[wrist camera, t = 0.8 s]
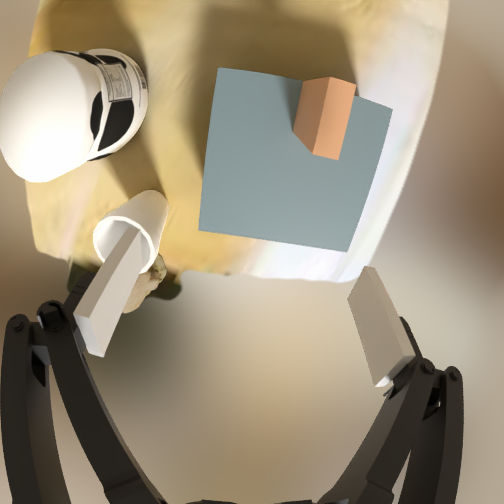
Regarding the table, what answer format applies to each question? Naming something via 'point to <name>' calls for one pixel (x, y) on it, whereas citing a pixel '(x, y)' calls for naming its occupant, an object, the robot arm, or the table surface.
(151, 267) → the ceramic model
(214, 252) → the table surface
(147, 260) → the foam cup
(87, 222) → the table surface
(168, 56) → the table surface
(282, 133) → the lid flap
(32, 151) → the milk container
